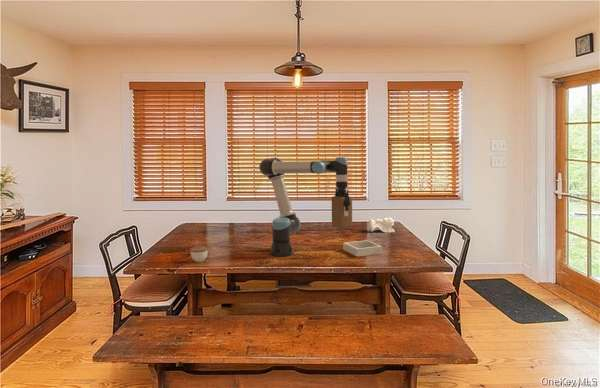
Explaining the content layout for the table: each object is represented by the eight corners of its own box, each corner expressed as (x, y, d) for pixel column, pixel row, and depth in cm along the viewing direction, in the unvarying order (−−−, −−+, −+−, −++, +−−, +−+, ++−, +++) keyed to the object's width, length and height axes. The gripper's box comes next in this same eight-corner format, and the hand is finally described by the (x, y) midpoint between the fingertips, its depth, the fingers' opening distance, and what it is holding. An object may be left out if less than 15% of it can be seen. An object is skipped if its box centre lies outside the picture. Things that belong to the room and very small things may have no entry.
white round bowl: (189, 259, 255) (188, 244, 254) (206, 257, 259) (205, 243, 258) (192, 263, 245) (191, 248, 244) (209, 261, 250) (209, 246, 249)
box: (343, 249, 277) (343, 242, 276) (366, 247, 284) (367, 240, 283) (357, 256, 259) (357, 249, 258) (382, 253, 266) (382, 246, 266)
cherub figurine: (368, 217, 343) (391, 215, 342) (369, 231, 344) (393, 229, 343) (370, 219, 329) (395, 217, 329) (372, 234, 331) (396, 232, 330)
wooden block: (331, 226, 264) (330, 196, 262) (342, 224, 270) (342, 195, 267) (341, 228, 256) (341, 197, 254) (352, 226, 261) (352, 196, 259)
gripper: (355, 182, 250) (355, 216, 252) (338, 179, 272) (339, 211, 274) (344, 182, 247) (345, 217, 250) (328, 180, 269) (329, 212, 271)
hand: (341, 214), depth 262 cm, fingers closed on wooden block, 11 cm apart
